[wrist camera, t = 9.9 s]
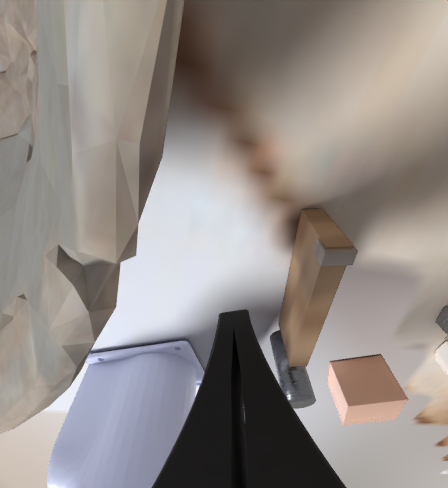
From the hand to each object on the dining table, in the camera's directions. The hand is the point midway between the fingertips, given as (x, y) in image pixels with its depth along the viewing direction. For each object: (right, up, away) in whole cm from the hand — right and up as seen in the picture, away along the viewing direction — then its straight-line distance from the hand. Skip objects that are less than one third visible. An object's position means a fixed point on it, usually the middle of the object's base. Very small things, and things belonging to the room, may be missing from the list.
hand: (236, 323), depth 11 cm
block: (+13, -9, +13) cm, 21 cm away
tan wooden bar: (+4, +2, +4) cm, 6 cm away
